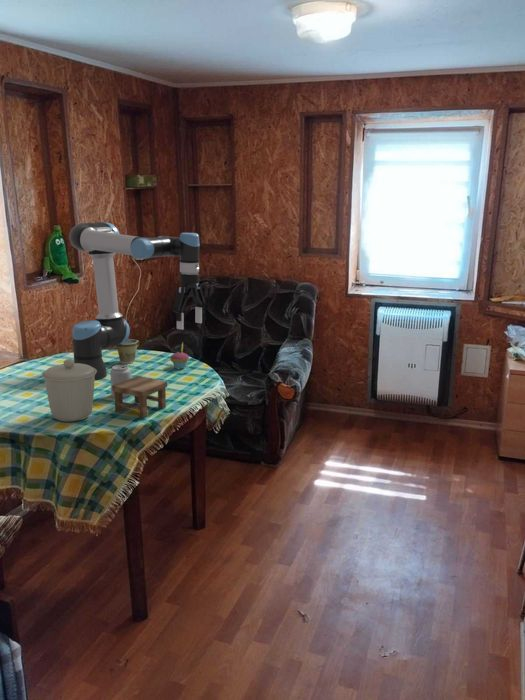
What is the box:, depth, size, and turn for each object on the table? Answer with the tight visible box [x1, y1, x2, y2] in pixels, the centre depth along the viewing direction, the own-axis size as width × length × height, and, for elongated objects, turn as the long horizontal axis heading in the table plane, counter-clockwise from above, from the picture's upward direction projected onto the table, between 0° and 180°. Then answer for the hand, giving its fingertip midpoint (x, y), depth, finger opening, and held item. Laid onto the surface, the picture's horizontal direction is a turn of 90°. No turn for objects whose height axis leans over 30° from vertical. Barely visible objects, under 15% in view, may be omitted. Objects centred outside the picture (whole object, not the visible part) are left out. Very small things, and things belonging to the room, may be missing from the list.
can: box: [109, 364, 131, 399], centre depth 226 cm, size 8×8×12 cm
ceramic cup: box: [116, 338, 140, 365], centre depth 273 cm, size 13×10×10 cm
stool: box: [112, 375, 168, 419], centre depth 212 cm, size 14×14×10 cm
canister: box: [41, 358, 97, 423], centre depth 202 cm, size 18×18×21 cm
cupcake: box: [169, 342, 190, 369], centre depth 265 cm, size 9×8×12 cm
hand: (189, 326), depth 233 cm, fingers open, 13 cm apart
